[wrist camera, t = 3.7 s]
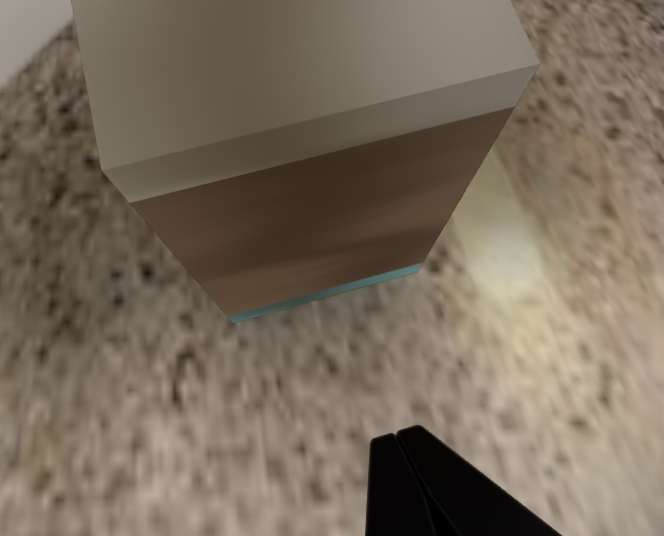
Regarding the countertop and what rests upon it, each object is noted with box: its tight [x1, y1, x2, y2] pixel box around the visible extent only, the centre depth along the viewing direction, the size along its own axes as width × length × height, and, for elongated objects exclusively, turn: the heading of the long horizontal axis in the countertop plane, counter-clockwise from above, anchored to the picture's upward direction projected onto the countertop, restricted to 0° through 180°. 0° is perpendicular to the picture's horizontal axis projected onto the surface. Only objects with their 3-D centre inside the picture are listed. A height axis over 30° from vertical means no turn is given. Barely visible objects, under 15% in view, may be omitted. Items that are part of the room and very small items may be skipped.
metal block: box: [71, 0, 541, 323], centre depth 13 cm, size 6×6×10 cm
